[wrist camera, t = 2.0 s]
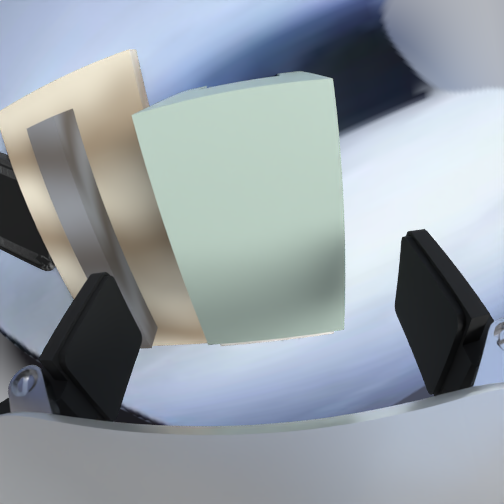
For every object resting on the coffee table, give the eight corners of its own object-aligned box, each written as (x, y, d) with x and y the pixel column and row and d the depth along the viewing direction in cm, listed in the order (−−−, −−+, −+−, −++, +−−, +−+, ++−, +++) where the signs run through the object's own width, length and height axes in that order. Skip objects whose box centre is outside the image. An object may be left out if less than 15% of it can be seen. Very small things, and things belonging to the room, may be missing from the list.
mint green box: (183, 91, 15) (131, 115, 9) (300, 71, 14) (332, 78, 8) (227, 270, 21) (216, 363, 15) (320, 258, 20) (343, 349, 14)
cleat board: (5, 109, 15) (-25, 122, 12) (136, 49, 14) (112, 48, 11) (107, 338, 25) (96, 364, 23) (218, 332, 24) (214, 363, 22)
